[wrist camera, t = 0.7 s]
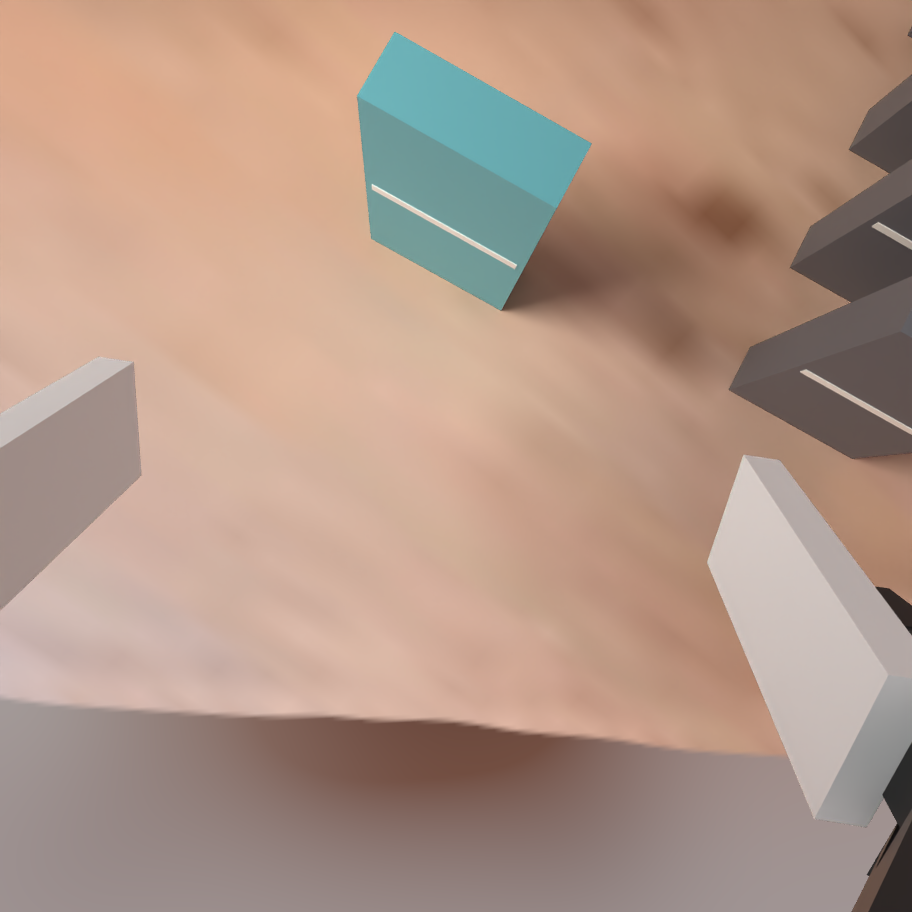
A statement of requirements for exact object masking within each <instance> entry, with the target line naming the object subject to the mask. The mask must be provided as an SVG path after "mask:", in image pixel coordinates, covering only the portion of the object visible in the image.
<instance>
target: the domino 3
mask: <svg viewBox="0 0 912 912" xmlns="http://www.w3.org/2000/svg"><path fill="white" fill-rule="evenodd" d="M790 268H792V269H793V270H795V271H797V272H799V273H800V274H802V275H804V276H806V277H807V278H809V279H811V280H813V281H815V282H816V283H818V284H820V285H822V286H823V287H825V288H827V289H829V290H830V291H832V292H834V293H836V294H837V295H839V296H841V297H843V298H844V299H846V300H848V301H850V302H851V303H852V302H854V301H856V300H859V299H861V298H863V297H865V296H868V295H870V294H872V293H874V292H877V291H879V290H881V289H884V288H886V287H888V286H890V285H893V284H895V283H897V282H899V281H902V280H904V279H906V278H909V277H911V276H912V159H911V160H909V161H908V162H906V163H905V164H903V165H902V166H900V167H899V168H897V169H896V170H894V171H893V172H891V173H890V174H888V175H887V176H885V177H884V178H882V179H881V180H879V181H878V182H876V183H875V184H873V185H872V186H870V187H869V188H867V189H866V190H864V191H863V192H861V193H860V194H858V195H857V196H855V197H854V198H852V199H851V200H849V201H848V202H846V203H845V204H843V205H842V206H840V207H839V208H837V209H836V210H834V211H833V212H832V213H830V214H829V215H827V216H826V217H824V218H823V219H821V220H820V221H818V222H817V223H815V224H814V225H812V226H811V227H810V229H809V231H808V233H807V235H806V237H805V239H804V241H803V243H802V245H801V247H800V249H799V251H798V253H797V255H796V257H795V258H794V260H793V262H792V264H791V266H790Z"/></svg>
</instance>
